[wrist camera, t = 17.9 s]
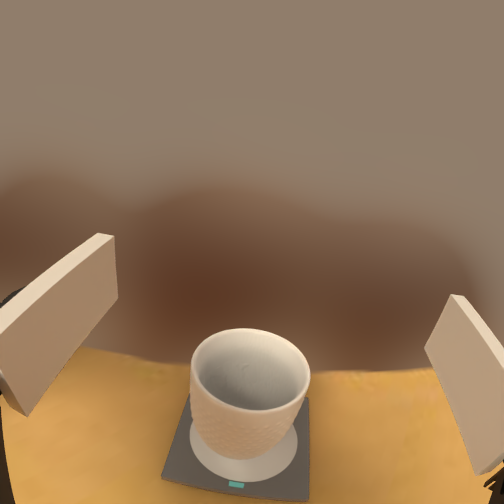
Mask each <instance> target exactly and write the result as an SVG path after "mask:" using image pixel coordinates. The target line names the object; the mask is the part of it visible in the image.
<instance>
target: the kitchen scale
mask: <svg viewBox="0 0 504 504" xmlns="http://www.w3.org/2000/svg"><path fill="white" fill-rule="evenodd" d="M190 407H191V404H190V393H189V396H188V399H187V402H186V405H185V407H184V410H183V413H182V416H181V419H180V422H179V425H178V428H177V431H176V433H175V436H174V439H173V442H172V445H171V448H170V451H169V454H168V457H167V460H166V463H165V466H164V469H163V472H162V475H161V477H162V479H164V480H167V481H171V482H175V483H178V484H182V485H186V486H190V487H195V488H199V489H204V490H209V491H214V492H219V493H224V494H230V495H237V496H243V497H251V498H259V499H268V500H279V501H295V502H307V501H308V500H309V402H308V398H307V397H304V401H303V402H302V405H301V408H300V409H299V411H298V414H297V416H296V417H295V419H294V422H293V423H292V424H291V426H290V429H289V430H288V431H287V432H286V434H285V436H283V437H282V439H281V441H279V442H278V443H277V444H276V445H275V446H274V447H272V449H271V450H268V451H267V452H266V453H264V454H262V455H261V456H258V457H256V458H252V459H248V460H234V459H230V458H226V457H223V456H221V455H219V454H217V453H216V452H214V451H213V450H211V449H210V448H209V447H208V446H207V445H206V443H205V442H203V440H202V438H201V437H200V436H199V433H198V432H197V430H196V427H195V425H194V422H193V418H192V412H191V409H190Z"/></svg>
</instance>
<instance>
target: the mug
mask: <svg viewBox="0 0 504 504" xmlns="http://www.w3.org/2000/svg"><path fill="white" fill-rule="evenodd" d="M309 383H310V368H309V365H308V362H307V361H306V358H305V357H304V355H303V354H302V353H301V351H299V349H298V348H297V347H295V346H294V345H293V344H292V343H290V342H289V341H288V340H286V339H284V338H282V337H280V336H278V335H275V334H273V333H270V332H266V331H262V330H257V329H246V328H243V329H242V328H239V329H230V330H225V331H221V332H218V333H216V334H213V335H212V336H210V337H208V338H207V339H205V340H204V341H203V342H202V343H201V344H200V345H199V346H198V347H197V348H196V350H195V352H194V354H193V356H192V360H191V369H190V404H191V407H190V409H191V412H192V418H193V422H194V425H195V427H196V430H197V432H198V433H199V436H200V437H201V438H202V440H203V442H205V443H206V445H207V446H208V447H209V448H210V449H211V450H213V451H214V452H216V453H217V454H219V455H221V456H223V457H226V458H230V459H234V460H248V459H252V458H256V457H258V456H261V455H262V454H264V453H266V452H267V451H268V450H271V449H272V447H274V446H275V445H276V444H277V443H278V442H279V441H281V439H282V437H283V436H285V434H286V432H287V431H288V430H289V429H290V426H291V424H292V423H293V422H294V419H295V417H296V416H297V414H298V411H299V409H300V408H301V405H302V402H303V401H304V397H305V395H306V392H307V390H308V387H309Z"/></svg>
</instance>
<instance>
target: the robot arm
mask: <svg viewBox="0 0 504 504" xmlns="http://www.w3.org/2000/svg"><path fill="white" fill-rule="evenodd" d="M117 299H118V289H117V277H116V262H115V242H114V236H111V235H106V234H101V233H97V234H96V235H94V236H93V237H91V238H90V239H88V240H87V241H86V242H84V243H83V244H81V245H80V246H79V247H77V248H76V249H74V250H73V251H72V252H70V253H69V254H68V255H66V256H65V257H64V258H62V259H61V260H60V261H58V262H57V263H56V264H54V265H53V266H52V267H50V268H49V269H48V270H47V271H45V272H44V273H43V274H42V275H40V276H39V277H38V278H36V279H35V280H34V281H33V282H31V283H30V284H29V285H28V286H25V287H23V288H21V289H19V290H17V291H14V292H13V293H11V294H10V295H9V296H8V297H6V299H4V300H3V302H2V303H0V395H1V394H3V396H4V398H5V399H6V401H7V403H8V404H9V406H10V407H12V408H13V409H15V410H16V411H18V412H20V413H21V414H23V415H24V416H26V417H28V416H29V414H30V413H31V411H32V410H33V408H34V407H35V406H36V404H37V403H38V401H39V400H40V398H41V397H42V396H43V394H44V393H45V391H46V390H47V389H48V387H49V386H50V384H51V383H52V382H53V380H54V379H55V378H56V376H57V375H58V374H59V372H60V371H61V370H62V368H63V367H64V366H65V364H66V363H67V362H68V360H69V359H70V358H71V356H72V355H73V354H74V352H75V351H76V350H77V349H78V347H79V346H80V345H81V343H82V342H83V341H84V339H85V338H86V337H87V336H88V335H89V333H90V332H91V331H92V330H93V328H94V327H95V326H96V324H97V323H98V322H99V321H100V320H101V318H102V317H103V316H104V315H105V314H106V312H107V311H108V310H109V308H110V307H111V306H112V305H113V304H114V302H115V301H116V300H117ZM424 349H425V351H426V353H427V355H428V357H429V360H430V362H431V364H432V366H433V368H434V370H435V372H436V375H437V377H438V379H439V381H440V384H441V386H442V388H443V390H444V393H445V395H446V397H447V400H448V402H449V405H450V407H451V410H452V412H453V415H454V417H455V420H456V422H457V425H458V427H459V430H460V433H461V435H462V438H463V441H464V444H465V446H466V449H467V452H468V455H469V458H470V461H471V464H472V467H473V470H474V473H475V476H478V475H481V474H484V473H487V472H490V471H492V470H493V469H494V468H495V467H496V466H497V465H499V464H500V463H501V462H502V461H503V463H504V348H503V347H502V346H501V344H500V343H499V341H498V340H497V338H496V337H495V336H494V334H493V333H492V332H491V330H490V329H489V328H488V326H487V325H486V324H485V322H484V321H483V320H482V318H481V317H480V316H479V315H478V313H477V312H476V311H475V309H474V308H473V307H472V306H471V304H470V303H469V302H468V301H467V300H466V298H465V297H464V296H459V295H452V294H451V295H450V297H449V299H448V301H447V304H446V306H445V308H444V310H443V312H442V314H441V317H440V318H439V320H438V322H437V324H436V326H435V328H434V330H433V332H432V334H431V336H430V338H429V340H428V342H427V343H426V345H425V347H424ZM493 481H496V482H495V483H494V484H492V485H491V486H490V487H489V488H488V489H490V490H492V491H493V492H492V495H491V498H490V501H489V504H504V467H503V468H502V469H501V470H500V471H498V472H497V473H496V474H495V475H494V476H492V477H491V478H490V479H489V480H487V481H486V482H485V484H484V486H483V487H486V486H488V485H489V484H490V483H492V482H493ZM0 504H15V501H14V497H13V492H12V488H11V483H10V478H9V473H8V468H7V462H6V455H5V448H4V440H3V431H2V419H1V407H0Z"/></svg>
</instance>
